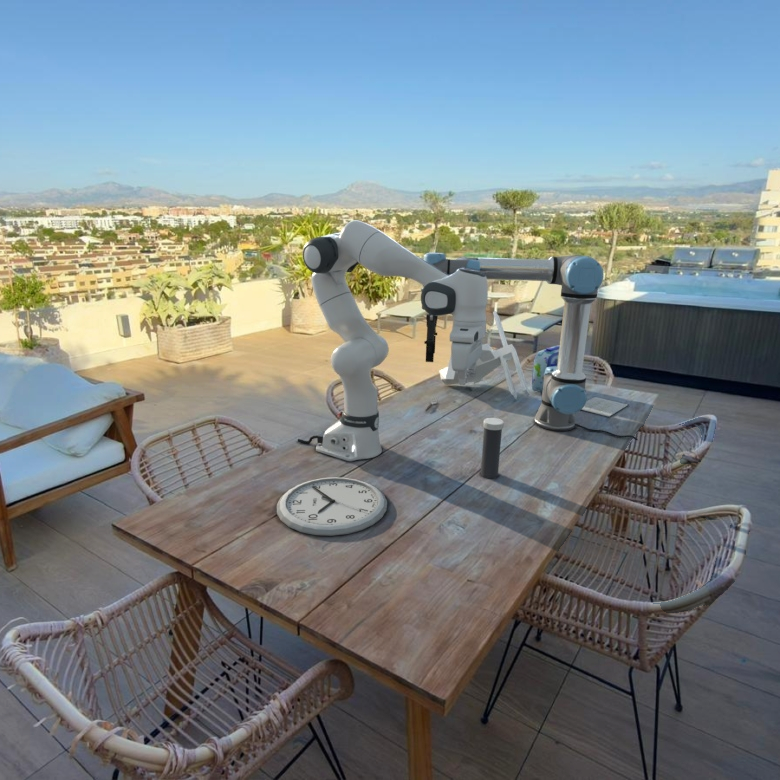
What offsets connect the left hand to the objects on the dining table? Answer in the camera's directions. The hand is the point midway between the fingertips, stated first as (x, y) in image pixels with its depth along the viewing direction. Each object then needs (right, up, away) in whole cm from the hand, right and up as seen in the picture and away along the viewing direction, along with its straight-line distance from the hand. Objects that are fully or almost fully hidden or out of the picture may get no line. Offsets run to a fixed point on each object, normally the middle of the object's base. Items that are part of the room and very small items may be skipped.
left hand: (466, 379), depth 145 cm
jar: (+10, -29, +18) cm, 35 cm away
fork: (-4, -10, +78) cm, 79 cm away
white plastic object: (+20, -4, +99) cm, 101 cm away
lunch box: (+56, -3, +103) cm, 118 cm away
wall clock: (-37, -34, -2) cm, 51 cm away
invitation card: (+70, -10, +82) cm, 108 cm away
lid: (+10, -13, +13) cm, 20 cm away
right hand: (-7, +9, +45) cm, 46 cm away
